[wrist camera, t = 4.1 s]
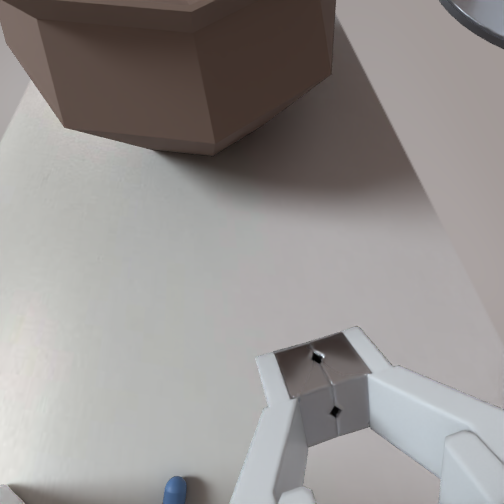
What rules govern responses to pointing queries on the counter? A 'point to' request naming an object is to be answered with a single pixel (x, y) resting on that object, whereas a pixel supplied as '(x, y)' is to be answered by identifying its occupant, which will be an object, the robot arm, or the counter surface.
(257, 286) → the counter surface
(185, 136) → the octagonal pot
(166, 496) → the spoon
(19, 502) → the white square bottle
